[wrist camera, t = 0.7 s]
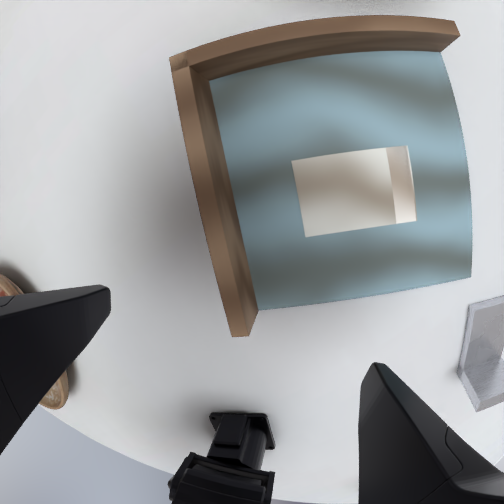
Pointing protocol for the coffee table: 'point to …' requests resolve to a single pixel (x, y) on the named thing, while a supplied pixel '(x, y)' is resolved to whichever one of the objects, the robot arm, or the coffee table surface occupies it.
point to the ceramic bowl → (60, 389)
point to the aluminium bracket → (483, 354)
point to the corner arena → (326, 161)
